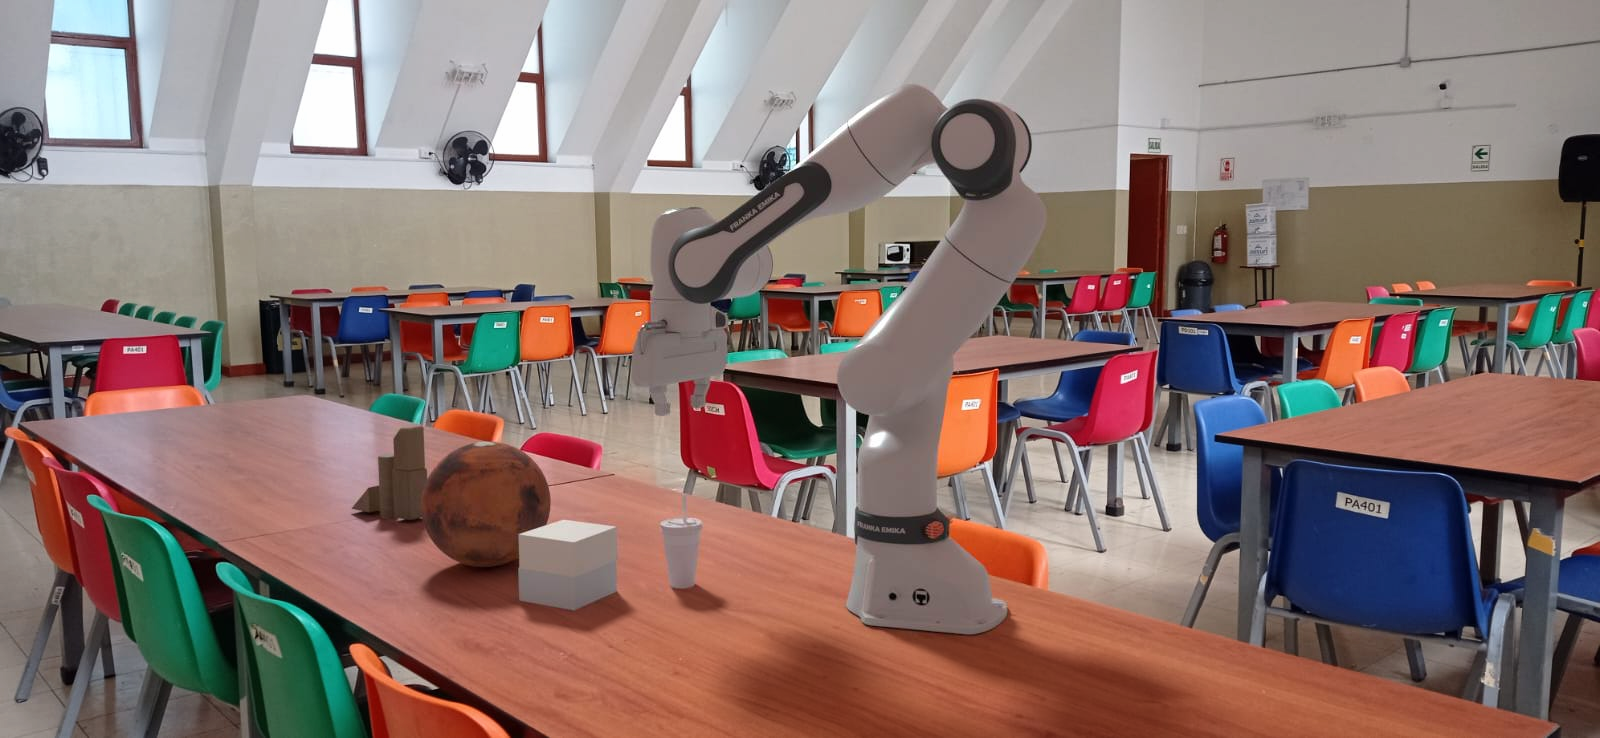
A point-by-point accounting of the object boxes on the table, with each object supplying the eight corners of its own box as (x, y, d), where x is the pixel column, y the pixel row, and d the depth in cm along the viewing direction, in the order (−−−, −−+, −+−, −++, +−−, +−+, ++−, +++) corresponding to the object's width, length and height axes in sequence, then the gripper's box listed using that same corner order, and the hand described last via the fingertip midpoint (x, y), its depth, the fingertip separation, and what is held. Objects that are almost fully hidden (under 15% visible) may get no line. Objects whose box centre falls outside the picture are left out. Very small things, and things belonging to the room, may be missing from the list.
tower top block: (617, 559, 168) (616, 526, 168) (574, 577, 160) (573, 542, 159) (564, 551, 173) (563, 519, 172) (519, 568, 164) (518, 534, 164)
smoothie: (696, 592, 168) (695, 499, 167) (655, 590, 169) (653, 497, 168) (708, 580, 174) (707, 490, 173) (668, 577, 176) (667, 488, 174)
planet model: (462, 545, 195) (458, 430, 193) (571, 551, 191) (568, 434, 189) (398, 578, 176) (393, 451, 173) (518, 586, 172) (514, 455, 169)
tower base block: (616, 592, 169) (616, 559, 168) (574, 611, 160) (573, 577, 160) (563, 583, 174) (563, 551, 173) (519, 601, 165) (518, 568, 164)
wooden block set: (434, 519, 214) (430, 425, 212) (409, 525, 210) (405, 429, 208) (376, 508, 223) (372, 418, 222) (351, 514, 219) (347, 422, 217)
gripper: (657, 323, 157) (657, 422, 159) (734, 315, 175) (733, 404, 177) (620, 321, 160) (621, 418, 162) (699, 314, 178) (699, 401, 180)
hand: (680, 411), depth 169 cm, fingers open, 8 cm apart
